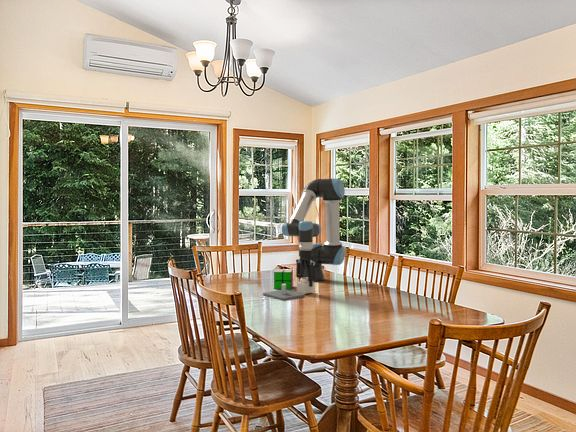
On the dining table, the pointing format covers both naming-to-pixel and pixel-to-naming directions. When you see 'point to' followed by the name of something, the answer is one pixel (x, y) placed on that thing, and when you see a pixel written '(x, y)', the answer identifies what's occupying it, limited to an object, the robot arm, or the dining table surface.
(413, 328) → the dining table surface
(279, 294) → the board
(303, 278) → the knob
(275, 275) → the puzzle cube
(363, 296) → the dining table surface
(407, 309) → the dining table surface
